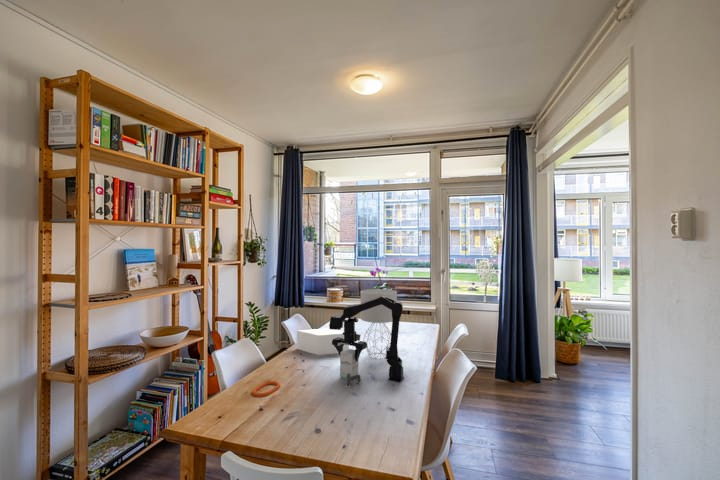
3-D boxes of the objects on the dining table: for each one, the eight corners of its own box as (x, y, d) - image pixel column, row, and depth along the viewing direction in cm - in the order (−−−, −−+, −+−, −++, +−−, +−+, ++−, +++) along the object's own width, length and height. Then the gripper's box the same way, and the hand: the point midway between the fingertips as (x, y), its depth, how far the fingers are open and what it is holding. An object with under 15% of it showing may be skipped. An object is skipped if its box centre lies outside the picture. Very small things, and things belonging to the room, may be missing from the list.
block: (345, 356, 199) (345, 336, 199) (291, 353, 205) (292, 334, 205) (351, 348, 216) (351, 329, 217) (301, 345, 222) (301, 327, 223)
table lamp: (396, 350, 210) (396, 289, 211) (397, 363, 188) (397, 294, 189) (362, 349, 212) (362, 288, 213) (358, 361, 190) (358, 293, 191)
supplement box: (339, 376, 168) (339, 351, 168) (347, 371, 175) (347, 347, 175) (351, 379, 165) (351, 354, 165) (358, 374, 171) (359, 350, 171)
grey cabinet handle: (362, 382, 162) (362, 374, 162) (353, 389, 154) (353, 380, 154) (349, 379, 166) (349, 371, 166) (339, 385, 158) (339, 377, 158)
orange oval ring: (284, 382, 159) (264, 395, 145) (284, 385, 159) (264, 399, 145) (268, 379, 163) (247, 391, 149) (268, 382, 163) (247, 395, 149)
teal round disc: (360, 374, 171) (360, 373, 171) (352, 380, 164) (352, 380, 164) (346, 371, 176) (346, 370, 176) (337, 377, 168) (337, 376, 168)
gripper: (372, 328, 173) (372, 358, 172) (342, 324, 182) (342, 352, 181) (361, 333, 163) (361, 365, 163) (331, 329, 172) (331, 358, 172)
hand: (349, 359), depth 170 cm, fingers open, 9 cm apart
